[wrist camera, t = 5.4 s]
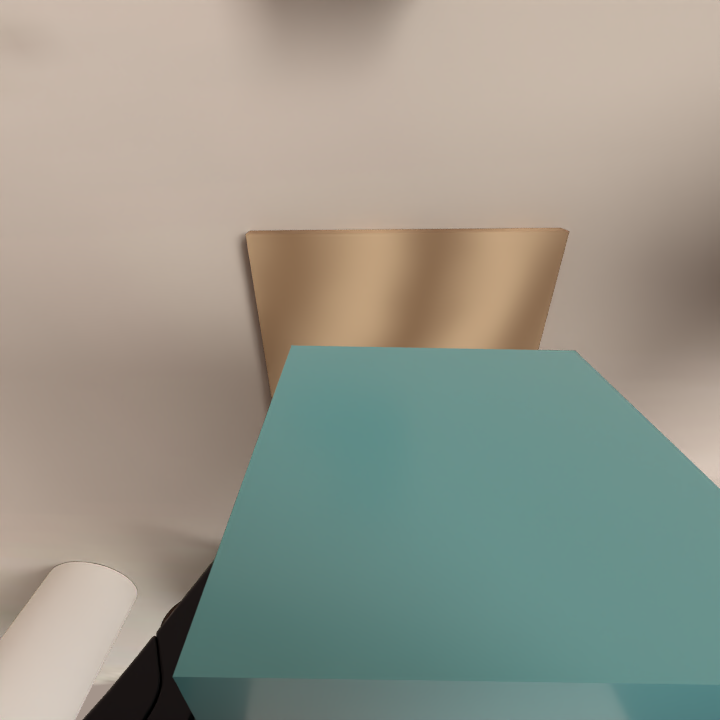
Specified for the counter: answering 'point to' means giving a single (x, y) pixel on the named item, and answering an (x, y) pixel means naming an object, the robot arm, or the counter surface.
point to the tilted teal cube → (459, 550)
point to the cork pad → (403, 288)
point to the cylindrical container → (62, 641)
